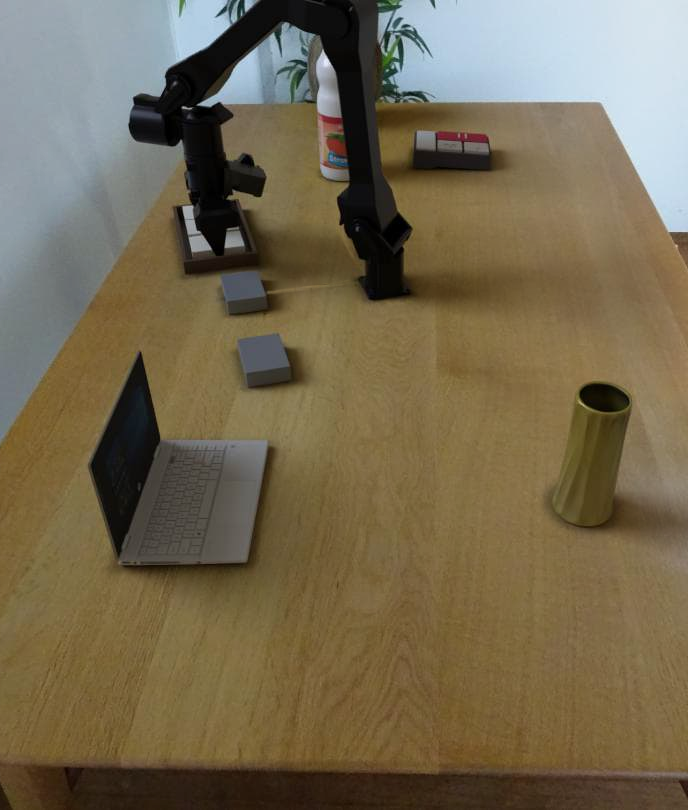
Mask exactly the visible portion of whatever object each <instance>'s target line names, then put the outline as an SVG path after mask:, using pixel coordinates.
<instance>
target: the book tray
mask: <svg viewBox="0 0 688 810" xmlns="http://www.w3.org/2000/svg"><path fill="white" fill-rule="evenodd" d="M229 200H230V201H232V202H233V203H234V204H236V207H237V210H238V213H239V220H240V226H238V227H239V231H240V233H241V236H242V239H243V242H244V245H245V252H246V253H239V254H232V255H224V256H216V257H208V258H200V259H193V257H192V252H191V247H190V243H189V238H188V233H187V229H186V224H185V219H184V214H183V207H182V206H190V205H192V204H191V203H189V204H188V203H187V204H180V205H179V204H178V205H172V212H173V217H174V223H175V228H176V233H177V239H178V244H179V249H180V254H181V260H182V264H183V265H182V266H183V270H184V275H193V274H199V273H207V272H216V271H222V270H231V269H238V268H246V267H253V266H259V265H260V262H259V252H258V250H257V246H256V243H255V241H254V238H253V236H252V233H251V231H250V227H249V224H248V221H247V219H246V216H245V213H244V210H243V208H242V204H241V201H240V199H239V198H233V199H229Z"/></svg>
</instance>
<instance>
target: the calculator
mask: <svg viewBox="0 0 688 810" xmlns="http://www.w3.org/2000/svg"><path fill="white" fill-rule="evenodd" d="M413 137H414V138H413V149H412V152H413V153H412V168H413V169H420V170H421V169H422V170H433V169H435V168H450V169H465V170H478V171H479V170H481V171H490V169H491V163H492V162H491V161H492V150H491V143H490V139H489V138H490V137H489V136H488V135H487V134H486V133H475V132H474V133H472V132H461V131H460V132H459V131H457V132H456V131H446V130H445V131H444V130H438V131H437V132H436V131H432V130H416V131H414V136H413Z"/></svg>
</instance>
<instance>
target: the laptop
mask: <svg viewBox="0 0 688 810" xmlns="http://www.w3.org/2000/svg"><path fill="white" fill-rule="evenodd" d="M143 357H144V356H143V353H142V351H141V350H140V349H138V350H137V352H136V354H135V356H134V359H133V361H132V363H131V365H130V367H129V370H128V372H127V374H126V377H125V379H124V381H123V383H122V385H121V387H120V389H119V392H118V394H117V397H116V398H115V401H114V403H113V406H112V408H111V410H110V411H109V415H108V417H107V419H106V421H105V423H104V426H103V428H102V430H101V433H100V434H99V437H98V439H97V441H96V444H95V446H94V448H93V451H92V453H91V455H90V457H89V459H88V461H87V469H88V473H89V476H90V480H91V482H92V486H93V489H94V492H95V496H96V499H97V503H98V507H99V509H100V512H101V516H102V520H103V522H104V526H105V529H106V532H107V536H108V539H109V543H110V545H111V549H112V552H113V556H114V559H115V561H117V560H118V563H117V564H118V565H120V566H161V565H162V566H163V565H166V566H167V565H207V564H209V565H212V564H242V563H244V564H245V563H247V562H248V559H249V553H250V549H251V544H252V538H253V533H254V532H253V531H254V527H255V522H256V520H255V519H256V515H257V511H258V504H259V499H260V494H261V489H262V484H263V477H264V472H265V466H266V461H267V457H268V450H269V445H270V441H269V440H268V439H161V433H160V432H161V431H160V428H159V424H158V420H157V414H156V411H155V407H154V402H153V397H152V393H151V389H150V384H149V379H148V375H147V371H146V367H145V362H144V358H143Z"/></svg>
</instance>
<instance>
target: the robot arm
mask: <svg viewBox="0 0 688 810" xmlns="http://www.w3.org/2000/svg"><path fill="white" fill-rule="evenodd" d="M379 11H380V10H379V5H378V2H377V0H258V1H256V2H255V3H254V4H253V5H252V6H251V7H249V9H248V10H246V11H245V12H244V13H243V14H242V15H241V16H240V17H239V18H237V19H236V20H235V21H234V22H233V23H232V24H231V25H230V26H228V28H226V29H225V31H223V32H222V33H221V34H220V35H219V36H218V37H216V39H214V40H213V41H212V42H211V43H210V44H209V45H207V46H206V47H203V48H201V49H200V50H198V51H196V52H194V53H193V54H191V55H189V56H187V57H184V58H183V59H181V60H179V61H178V62H176V63H174V64H173V65H171V66H170V67H168V68H167V70H166V71H165V73H164V80H165V86H164V88H163V90H162V92H161V94H160V96H156V95H151V94H149V93H143V92H140V93H139V94H136V95H134V96H133V97H132V102H133V106H132V108H131V110H130V113H129V119H128V123H127V124H128V125H127V127H128V131H129V134H130V136H131V138H132V139H133V140H134V141H136V143H142V144H150V145H154V146H155V145H156V146H164V147H171V148H173V147H176V146H178V145H179V144H180V142H181V145H182V149H183V150H182V151H183V159H184V163H185V168H186V169H185V171H184V172H183V176H184V177H183V178H184V182H185V183H184V184H185V187H186V191H189V192H188V195H187V196H188V199H189V202H190V204H192V205H193V207H194V208H193V215H194V221H195V226H196V230H197V231H200V232H201V233H202V235H203V236H204V238H205V239H206V241H207V242H208V244H209V246H210V247H211V249H212V250H213V252H214V253H215V255H216V256H224V249H225V241H226V233H227V229H229V228H237V227H238V226H240V220H239V213H238V210H237V207H236V204H234V203H233V202H232V201H230V200H231V199H229V197H230V196H231V197H232V196H234V191H235V192H237V193H242V194H246V195H251V196H252V197H254V198H262V197H263V193H264V189H265V185H266V183H267V180H268V179H267V178H268V176H267V174H266V172H265V170H264V169H263V168H262V167H261V166H260V165H259V164H256V163H255V160H254V158H253V155H252V154H250V153H246V152H242V153H241V154H240V155H239V156H238V158H237V159H233V160H230V159H227V153H226V151H225V147H224V140H223V134H222V126H223V125H224V124H225V123H227V122H229V121H230V120H232V119H234V118H235V117H234V116H235V115H234V113H233V112H232V111H231V110H230V109H228V108H227V107H225V105H224V104H223V103H222V102H221V101H217V102H216V103H214V104H212V105H211V106H207V105H200V104H202V103H203V102H205V101H207V100H209V99H210V98H212V97H214V96H216V95H217V94H219V93H220V91H221V90H222V89H223V87H225V85H226V83H227V82H228V81H229V79H230V78H231V76H232V74H233V72H234V70H235V68H236V67H237V65H238V64H239V63H240V62H242V61H243V60H244V59H245V58H246V57H247V56H248V55H249V54H251V53H252V52H253V51H254V50H256V48H257V47H259V46H260V45H261V44H262V43H264V42H265V41H266V40H267V39H268V38H270V36H271V35H273V34H274V33H275V32H276V31H277V30H279V29H280V28H281V27H282V26H283V25H284V24H286V23H288V24H289V25H291V26H293V27H294V28H297V30H298V29H299V30H300V31H302V32H304V33H308V34H311V35H315V36H319V37H320V40H321V44H322V47H323V51H324V53H325V55H326V56H327V58H328V60H329V62H330V63H331V65H332V67H333V68H334V70H335V73H336V78H337V86H338V94H339V102H340V109H341V117H342V125H343V133H344V141H345V149H346V156H347V164H348V172H349V181H348V186H347V187H345V188H344V189H343V191H341V192H340V193H339V194H338V195H337V196H336V204H337V207H338V211H339V223H338V225H339V226H340V227H342V226H343V230H344V234H345V235H346V237H347V238H348V239H350V240H351V242H352V244H353V247H354V249H355V252H356V255H357V258H358V259H359V260H360V261H364V275H359V276H358V282H359V284H360V286H361V288H362V290H363V292H364V293H365V295H366V297H367V299H368V300H378V299H385V298H391V297H399V296H405V295H411V294H412V289H411V287H410V286H409V284H408V282H407V280H406V279H405V248H404V245H405V244H406V242H408V240H410V237H411V235H412V232H413V230H414V229H413V226H412V225H411V224H410V223H409V222H408V221H407V220H406V218H405V217H404V216H403V214H401V213H400V211H398V207H397V203H396V199H395V195H394V192H393V189H392V187H391V185H390V184H389V182H388V180H387V179H386V177H385V175H384V173H383V166H382V165H383V164H382V155H381V146H380V145H381V144H380V138H379V137H380V136H379V135H380V134H379V128H378V127H379V126H378V125H379V124H378V117H377V108H376V101H375V96H374V86H373V76H372V61H373V56H374V52H375V47H376V42H377V39H378V36H379V35H378V33H379V16H380V15H379V13H380V12H379ZM183 107H184V108H183Z"/></svg>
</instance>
